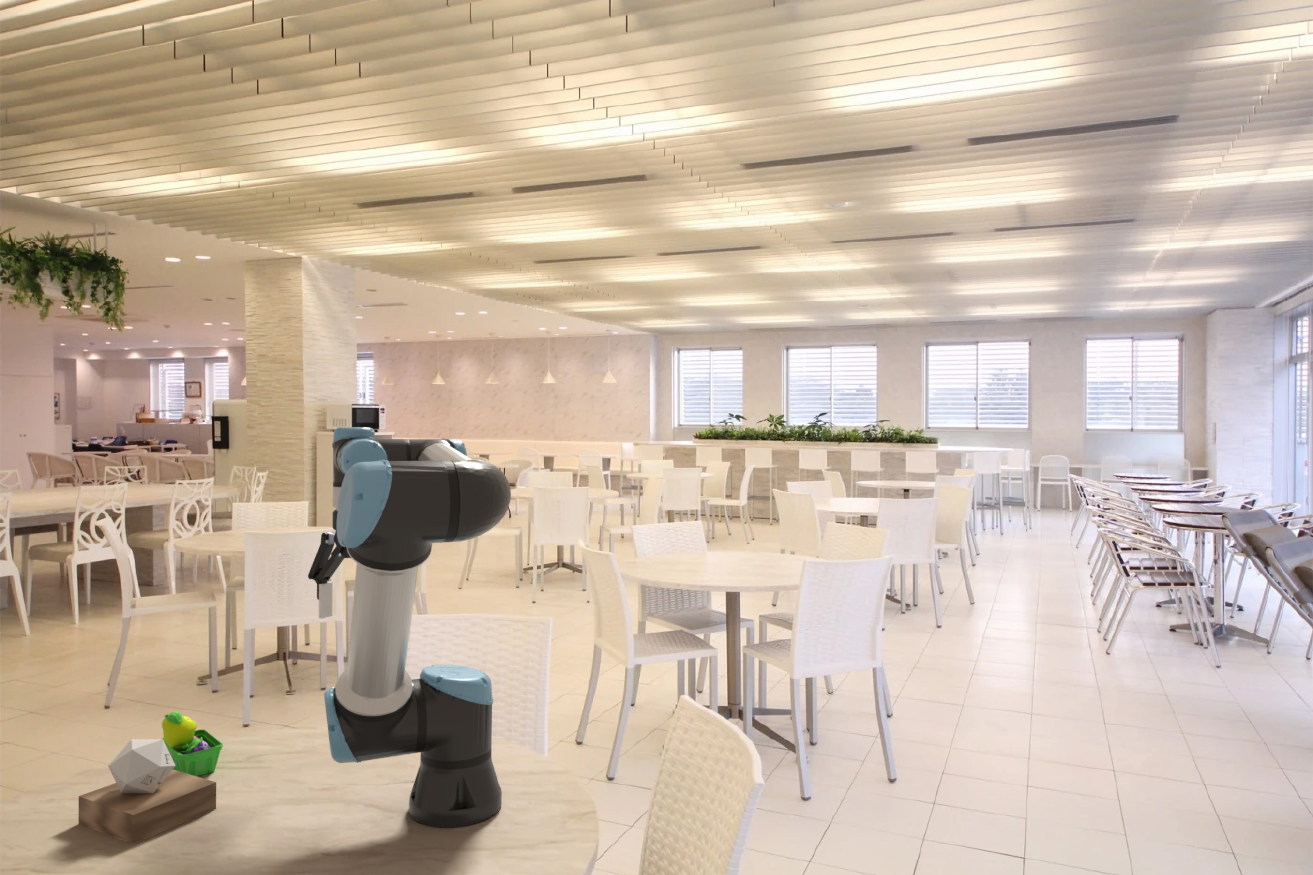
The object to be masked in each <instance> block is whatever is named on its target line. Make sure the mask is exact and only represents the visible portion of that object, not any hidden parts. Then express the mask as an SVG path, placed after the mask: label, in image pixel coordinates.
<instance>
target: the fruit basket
mask: <svg viewBox="0 0 1313 875" xmlns="http://www.w3.org/2000/svg"><path fill="white" fill-rule="evenodd" d="M197 725H198V724H197V722H196V721H195V720H193V719H191V718H190V717H188V716H185V715H182V713H180V712H179V711H172V712H170V713H169V714H168V713H166V714H164V719H163V720H162V722H161V728H162V730H163V732H162V734H163V737H162V738H161V739H163V740H164V742H165V745H166V747H167V749H168V751H169V753H170V755H171V757H172V759H173V761H174V763H175V767H174V768H173V770H177V771H180V772H183V773H187V774H190V775H193V776H197V777H199V776H203V775H206V774H209V773H211V774H212V773H214V772H215V771H216V768H217V763H218V760H219V758H220V757H219V756H220V754H221V751H222V749H223V745H224V744H223V742H221V741H220V740H218V739H217V738H216V737H215V736H214V735H212V734H211V733H210V731H208V730H206V729H197V727H198V726H197Z"/></svg>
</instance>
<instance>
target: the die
mask: <svg viewBox="0 0 1313 875" xmlns="http://www.w3.org/2000/svg"><path fill="white" fill-rule="evenodd" d="M174 767H175V763H174V761H173V759H172V757H171V755H170V753H169V751H168V749H167V747H166V745H165V742H164V740H163V739H162V738H160V739H158V738H157V739H156V738H154V739H153V738H152V739H150V738H149V739H148V738H144V739H143V738H131V739H130V741H129V742H128V743H127V744H126V745H125V746H124V747H123V749H122V750H121V751H120V752H119V753H118V754H117V755H116V756H115V757H114V759H113V760H112V761H111V762H110V764H109V765H108V768H109V772H110V773H111V775H112V777H113V779H114V781H115V783H117V785H118V787H119V789H120V791H121V793H154V792H155V791H156V790H157V788H158V787H159V786H160V785H161V783H162V782H163V781H164V780H165V778H166V777H167V776H168V775H169V773H170V772H171V771H172V770H174Z"/></svg>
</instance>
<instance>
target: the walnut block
mask: <svg viewBox="0 0 1313 875" xmlns="http://www.w3.org/2000/svg"><path fill="white" fill-rule="evenodd" d="M214 810H217V781H213V780H210V779H206V778H203V777H199V776H193V775H190V774H187V773H183V772H180V771H177V770H175V769H173V770H172V771H171V772H170V773H169V775H168V776H167V777H166V778H165V780H164V781H163V782H162V783H161V785H160V786H159V787H158V788H157V790H156V791H155V792H154V793H121V791H120V789H119V787H118V785H117V783H116V782H115V783H112V784H108V785H107V786H103V787H100V788H98V789H94V790H92V791H90V792H87V793H84V794H81V795H79V796H78V825H80V826H83V827H85V828H88V829H91V830H94V831H97V832H100V833H101V834H104V835H107V836H110V837H114V838H116V839H118V840H121V841H123V842H126V843H130V844H131V845H135V844H137V843H139V842H142V841H144V840H147V839H149V838H151V837H153V836H156V835H158V834H160V833H163V832H165V831H168V830H170V829H172V828H175V827H177V826H179V825H182V824H185V823H186V822H188V821H192V820H193V819H197V817H199V816H200V817H201V816H202V815H205V814H207V813H209V812H212V811H214Z"/></svg>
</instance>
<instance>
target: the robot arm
mask: <svg viewBox="0 0 1313 875" xmlns="http://www.w3.org/2000/svg"><path fill="white" fill-rule="evenodd" d="M332 440H333V441H332V443H331V445H332V446H331V447H332V475H333V477H332V479H333V481H332V507H333V508H335V509H334V510H333V511H332V525H331V526H332V528H333V530H334V531H333V530H332V531H327V532H322V533H321V534H320V535H321V536H320V545H319V547H318V550H317V551H316V554H315V556H314V559H313V562H312V564H311V567H310V570H309V572H308V574H307V577H308V579H309V580H313V581H314V582H315V584H316V598H317V600H318V619H325V618H329V617H332V616H333V583H334V582H333V581H332V579H331V578H332V577H333V576H334V574H335V572H336V571H337V569H338V568H339V567H340V565H341V563H342V562H343V561H344V560H345V559H348V558H350V559H352V560H353V562H355V564H356V566H355V568H356V569H355V578H354V588H353V589H354V590H353V602H352V612H351V624H350V634H349V636H350V637H349V646H348V657H347V658H348V659H347V668H346V669H345V670H344V671H343V672H342V673H341V674H340V675H339V677H338V678H337V681H336V684H335V686H333V687H331V688H327V689H326V690H325V691H324V693H323V697H324V706H325V715H326V723H327V732H328V740H329V742H328V743H329V749H330V755H331V758H332V760H333V761H335V763H339V764H346V763H347V764H348V763H357V764H358V763H361V762H367V761H375V760H379V759H380V760H381V759H384V758H391V757H400V756H405V755H413V754H418V753H420V763H419V768H418V771H417V773H416V775H415V779H414V782H413V786H412V789H411V791H410V794H409V800H408V812H409V813H408V814H409V816H410V818H412V819H413V820H414V821H415V822H418V823H419V824H423V825H425V826H430V827H437V828H454V827H456V828H457V827H464V826H468V825H469V826H470V825H474V824H477V823H480V822H484V821H485V820H487V818H488V819H490V818H491V817H493V816H494V815H496V814H497V813H498V812H499V811H500V810H501V807H502V805H503V804H502V802H503V801H502V793H503V792H502V787H501V785H500V783H499V780H498V776H497V772H496V770H495V769H496V768H495V766H494V764H493V763H494V762H493V759H492V745H493V744H492V740H493V738H492V734H493V725H492V724H493V704H494V699H493V689H492V688H493V686H492V680H491V678H490V677H489V675H488V674H487V673H486V672H484V671H482V670H481V669H478V668H474V667H471V666H465V665H461V664H460V665H459V664H433V665H431V666H430V665H429V666H426V667H424V668H422V669H421V672H420V673H419V678H415V679H412V678H411V676H410V674H409V673H408V672H407V670H406V666H407V659H408V658H407V657H408V651H409V650H408V649H409V641H410V633H411V625H412V616H413V611H414V602H415V594H416V588H417V579H418V572H419V571H418V570H419V567H421V566H422V565H423V564H425V563H426V561H428V559H429V557H430V556H431V554H432V547H433V546H432V545H433V544H441V543H442V544H443V543H456V542H457V543H459V542H464V541H468V540H473V539H475V538H478V537H481V536H482V535H484V534H485V533H487V532H489V531H491V530H492V529H493V528H494V527H496V525H499V523H500V522H501V521H502V520H503V518H504V517H505V515H506V514H507V511H508V509H509V506H510V505H511V504H510V503H511V498H512V493H511V485H510V481H509V479H508V478H507V476H506V475H505V474H504V472H503V471H502V470H501V469H500V468H498V467H497V466H496V465H494V464H493V463H491V462H489V461H487V460H483V459H480V458H479V459H477V458H476V459H475V458H474V459H473V458H470V457H468V454H467V448H466V445H465V443H464V441H462V440H460V439H455V438H454V439H453V438H443V437H442V438H430V439H429V438H426V439H425V438H423V439H422V438H421V439H420V438H414V439H412V438H411V439H410V438H409V439H408V438H376V434H375V430H374V428H372V427H368V426H367V427H364V426H363V427H362V426H361V427H360V426H358V427H357V426H355V427H354V426H353V427H352V426H351V427H350V426H349V427H347V426H346V427H343V426H337V428H335V429H334V430H333V439H332ZM334 546H335V547H334ZM492 815H493V816H492ZM490 816H491V817H490ZM489 817H490V818H489Z"/></svg>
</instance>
